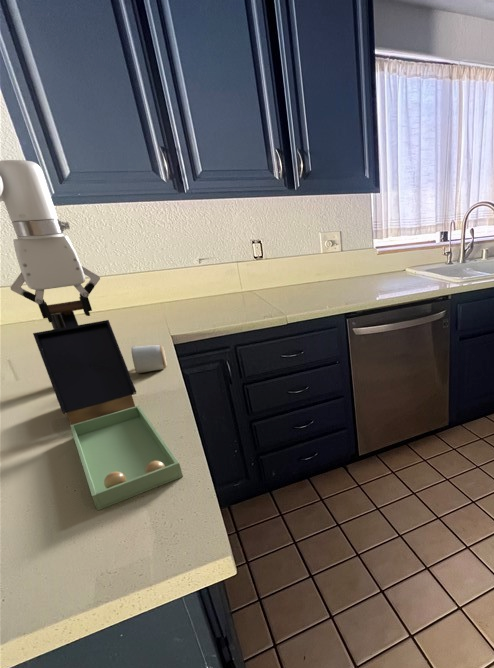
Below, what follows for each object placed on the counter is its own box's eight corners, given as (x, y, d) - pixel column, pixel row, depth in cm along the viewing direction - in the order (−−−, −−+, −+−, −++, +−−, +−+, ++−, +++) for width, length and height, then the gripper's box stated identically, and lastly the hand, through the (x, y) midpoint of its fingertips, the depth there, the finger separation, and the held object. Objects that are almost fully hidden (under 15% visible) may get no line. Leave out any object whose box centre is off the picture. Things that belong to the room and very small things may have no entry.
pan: (63, 414, 90) (60, 408, 86) (27, 317, 92) (22, 307, 87) (136, 394, 98) (136, 387, 94) (101, 305, 100) (100, 295, 95)
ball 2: (138, 465, 74) (144, 482, 74) (147, 464, 72) (153, 481, 72) (156, 458, 76) (162, 475, 77) (165, 457, 75) (171, 474, 75)
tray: (97, 510, 68) (91, 496, 67) (74, 437, 90) (69, 425, 89) (183, 476, 76) (179, 462, 74) (142, 416, 98) (138, 405, 97)
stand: (71, 426, 95) (64, 408, 93) (65, 406, 105) (58, 389, 103) (135, 407, 102) (130, 390, 101) (124, 390, 112) (118, 374, 111)
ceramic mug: (168, 371, 124) (161, 346, 121) (136, 377, 121) (129, 351, 118) (168, 360, 133) (161, 337, 130) (138, 366, 129) (131, 341, 126)
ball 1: (99, 482, 72) (105, 496, 71) (103, 469, 71) (108, 483, 69) (120, 478, 75) (126, 492, 73) (124, 466, 73) (130, 479, 72)
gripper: (86, 226, 93) (111, 307, 100) (-18, 233, 83) (19, 323, 90) (91, 227, 87) (117, 313, 95) (-19, 234, 77) (20, 330, 85)
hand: (69, 317), depth 92 cm, fingers closed on pan, 6 cm apart
